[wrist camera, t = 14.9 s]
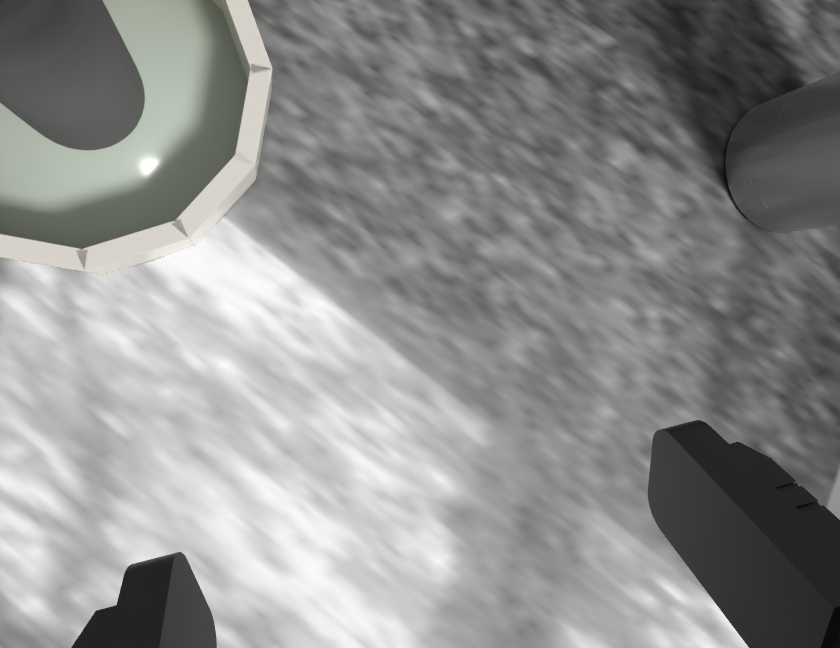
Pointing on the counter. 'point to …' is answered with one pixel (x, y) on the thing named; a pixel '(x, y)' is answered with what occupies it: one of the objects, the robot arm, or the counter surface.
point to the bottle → (68, 72)
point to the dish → (146, 146)
